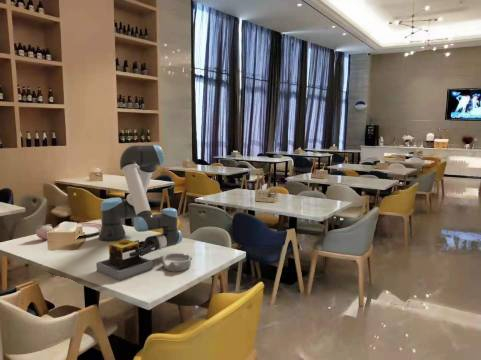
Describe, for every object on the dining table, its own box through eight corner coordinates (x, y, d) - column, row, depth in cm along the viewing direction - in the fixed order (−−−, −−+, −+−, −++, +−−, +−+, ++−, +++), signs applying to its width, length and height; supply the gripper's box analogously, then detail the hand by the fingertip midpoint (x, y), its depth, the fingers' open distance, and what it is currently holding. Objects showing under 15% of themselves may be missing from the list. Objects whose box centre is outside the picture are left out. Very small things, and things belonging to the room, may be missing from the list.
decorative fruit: (42, 243, 224) (41, 226, 223) (34, 240, 228) (32, 224, 227) (57, 239, 232) (56, 222, 231) (48, 236, 236) (47, 220, 235)
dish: (179, 274, 179) (179, 264, 179) (155, 269, 186) (155, 258, 185) (197, 264, 192) (197, 255, 191) (175, 260, 198) (175, 250, 198)
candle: (122, 269, 176) (121, 248, 175) (108, 264, 182) (107, 243, 181) (140, 263, 184) (139, 242, 183) (126, 258, 190) (126, 238, 189)
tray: (96, 270, 183) (96, 262, 182) (129, 260, 196) (129, 253, 196) (119, 280, 171) (118, 272, 171) (152, 269, 185) (152, 261, 184)
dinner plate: (114, 231, 251) (114, 225, 251) (77, 241, 228) (77, 236, 227) (86, 225, 265) (85, 220, 264) (48, 234, 242) (48, 229, 241)
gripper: (170, 254, 190) (130, 267, 173) (141, 245, 204) (102, 256, 187) (170, 239, 189) (130, 251, 172) (141, 231, 203) (102, 241, 186)
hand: (115, 253), depth 179 cm, fingers closed on candle, 10 cm apart
